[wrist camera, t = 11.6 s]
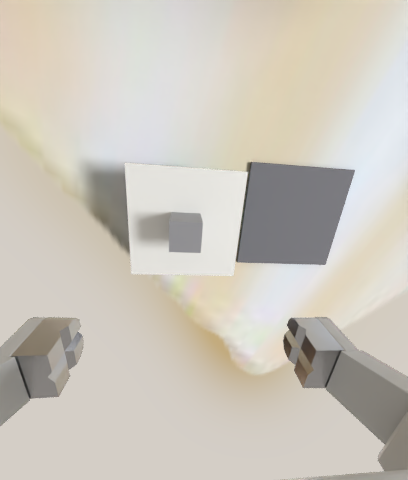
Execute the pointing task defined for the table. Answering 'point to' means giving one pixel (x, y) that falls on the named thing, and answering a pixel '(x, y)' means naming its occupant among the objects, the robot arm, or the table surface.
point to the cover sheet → (183, 197)
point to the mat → (291, 213)
